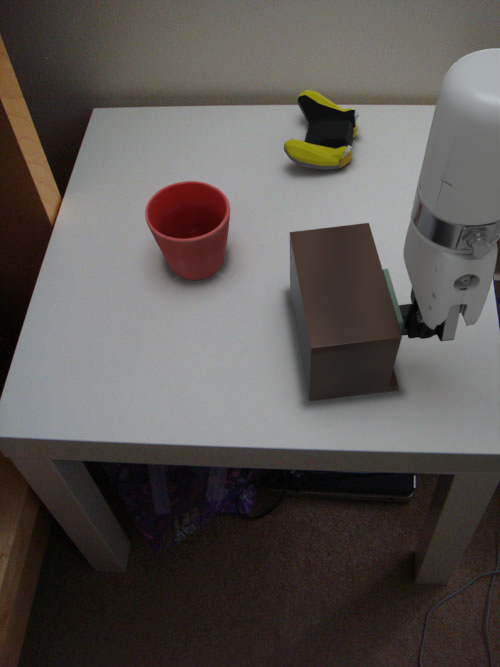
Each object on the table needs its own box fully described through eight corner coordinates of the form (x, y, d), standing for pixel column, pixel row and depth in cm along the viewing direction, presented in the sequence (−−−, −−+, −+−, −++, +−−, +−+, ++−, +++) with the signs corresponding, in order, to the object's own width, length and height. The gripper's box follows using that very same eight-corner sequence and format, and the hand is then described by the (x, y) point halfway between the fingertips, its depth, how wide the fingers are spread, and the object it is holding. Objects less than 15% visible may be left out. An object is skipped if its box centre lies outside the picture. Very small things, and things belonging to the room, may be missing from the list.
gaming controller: (281, 176, 92) (346, 183, 90) (281, 147, 87) (349, 154, 85) (299, 114, 100) (359, 119, 98) (299, 84, 95) (363, 90, 93)
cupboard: (369, 284, 79) (380, 221, 69) (397, 390, 71) (415, 335, 61) (290, 293, 79) (289, 231, 69) (308, 401, 71) (311, 348, 61)
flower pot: (201, 218, 88) (191, 167, 80) (251, 259, 83) (246, 209, 75) (143, 258, 84) (127, 208, 76) (192, 302, 80) (181, 255, 72)
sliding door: (409, 312, 75) (423, 264, 67) (425, 362, 71) (441, 317, 63) (373, 316, 75) (382, 269, 67) (386, 367, 71) (398, 323, 63)
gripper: (539, 273, 45) (477, 387, 60) (476, 142, 53) (435, 273, 69) (440, 285, 45) (403, 397, 60) (392, 153, 53) (370, 281, 68)
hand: (420, 330), depth 64 cm, fingers closed
